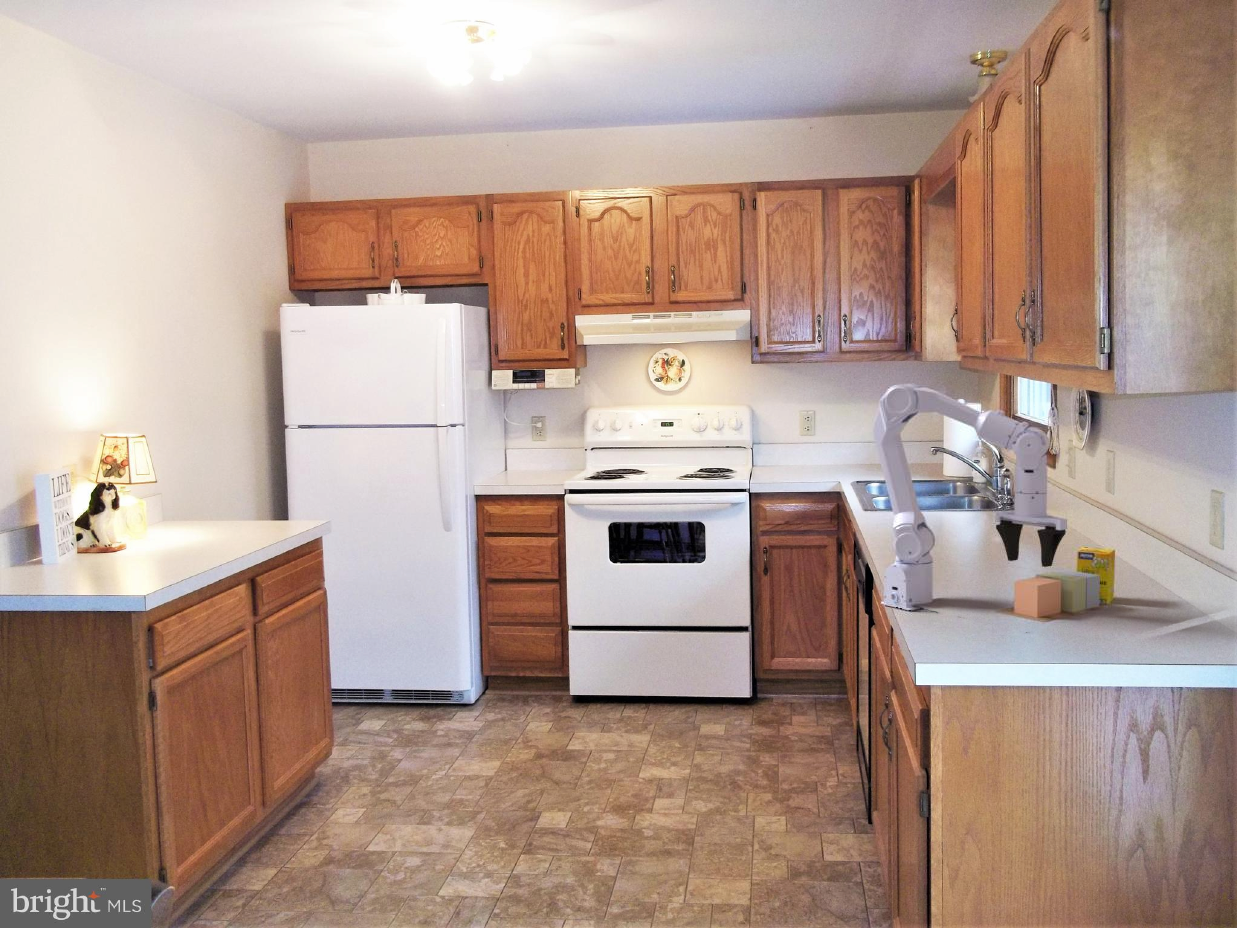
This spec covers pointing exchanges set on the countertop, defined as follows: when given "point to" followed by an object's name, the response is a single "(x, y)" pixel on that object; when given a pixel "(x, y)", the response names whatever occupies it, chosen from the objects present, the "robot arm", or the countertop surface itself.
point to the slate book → (1087, 586)
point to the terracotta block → (1037, 596)
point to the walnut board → (1049, 617)
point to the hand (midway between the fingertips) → (1029, 563)
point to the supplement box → (1099, 569)
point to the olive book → (1070, 591)
